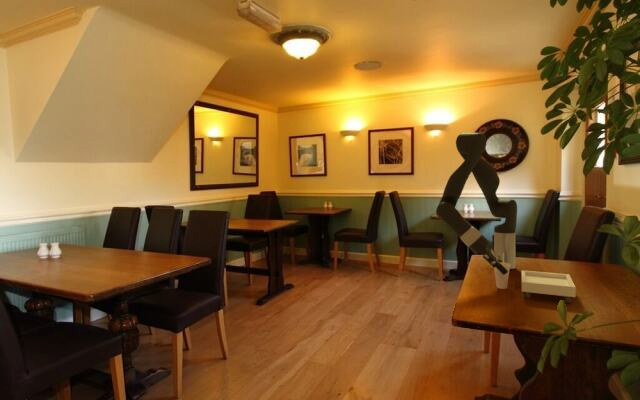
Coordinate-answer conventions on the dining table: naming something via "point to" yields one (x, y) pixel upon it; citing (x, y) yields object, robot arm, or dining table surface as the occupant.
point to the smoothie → (500, 278)
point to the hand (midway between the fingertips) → (506, 271)
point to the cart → (548, 284)
